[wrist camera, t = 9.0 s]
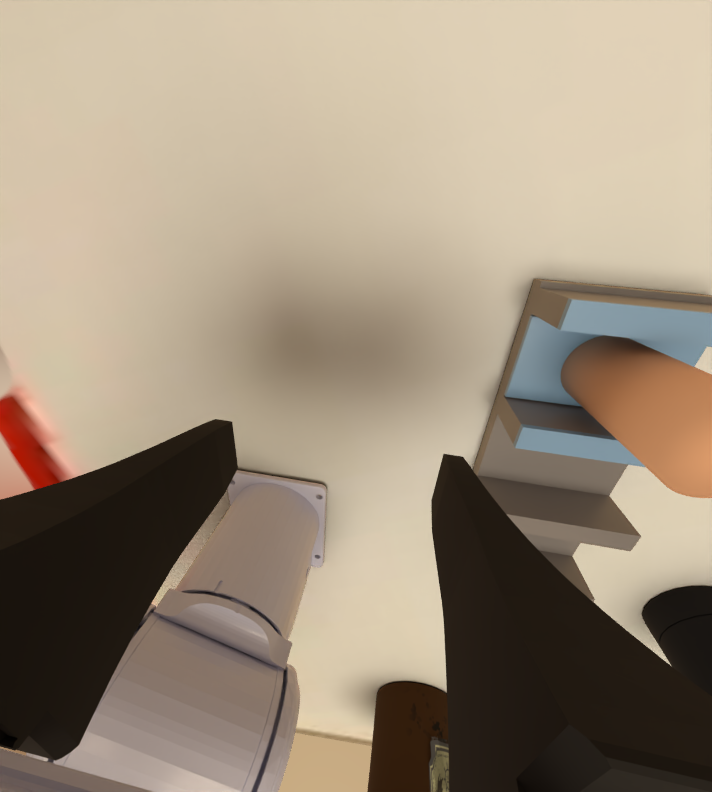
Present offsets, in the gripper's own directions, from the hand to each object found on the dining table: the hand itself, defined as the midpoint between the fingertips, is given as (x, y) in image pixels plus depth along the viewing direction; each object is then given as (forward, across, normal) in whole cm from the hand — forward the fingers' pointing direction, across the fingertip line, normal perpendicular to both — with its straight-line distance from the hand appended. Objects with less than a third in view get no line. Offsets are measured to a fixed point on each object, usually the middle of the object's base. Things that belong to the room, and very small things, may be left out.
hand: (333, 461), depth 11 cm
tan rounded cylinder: (+8, -12, -2) cm, 15 cm away
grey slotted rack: (+9, -12, +4) cm, 16 cm away
